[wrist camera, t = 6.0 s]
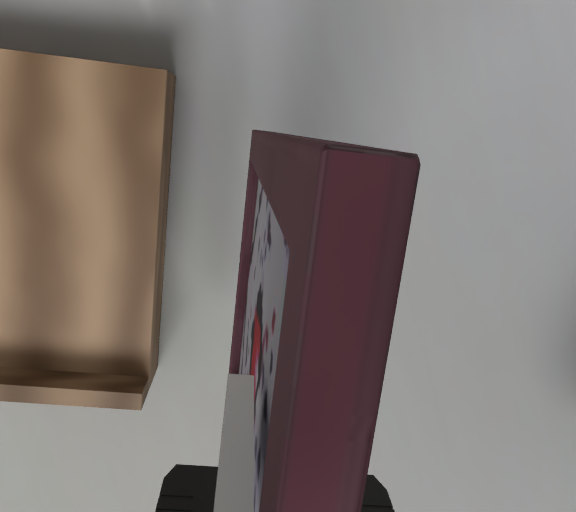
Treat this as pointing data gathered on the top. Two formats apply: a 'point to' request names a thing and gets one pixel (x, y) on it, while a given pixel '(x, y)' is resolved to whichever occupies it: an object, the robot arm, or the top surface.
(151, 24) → the top surface
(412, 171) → the picture frame
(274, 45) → the top surface
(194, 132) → the top surface
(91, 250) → the walnut ledge
